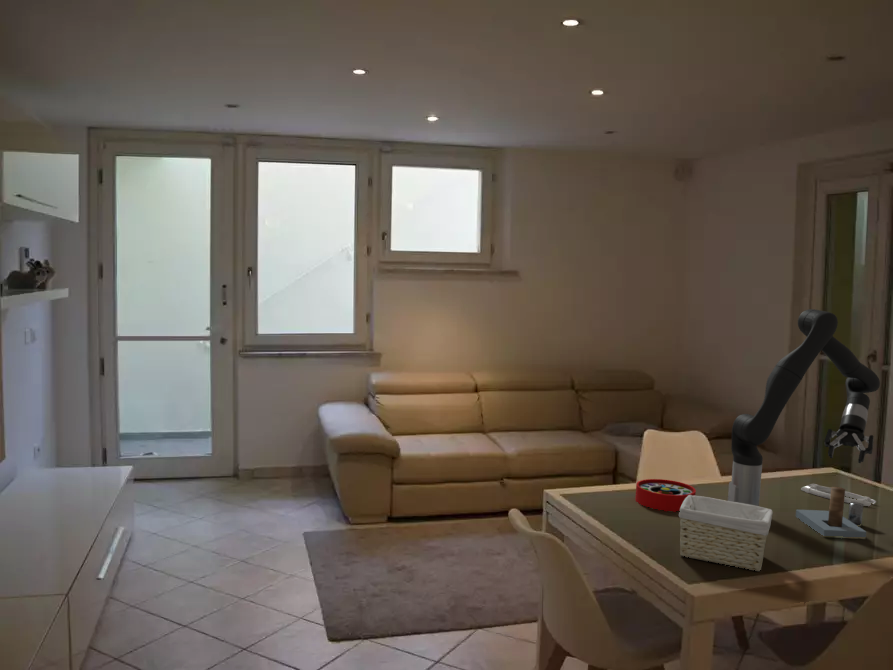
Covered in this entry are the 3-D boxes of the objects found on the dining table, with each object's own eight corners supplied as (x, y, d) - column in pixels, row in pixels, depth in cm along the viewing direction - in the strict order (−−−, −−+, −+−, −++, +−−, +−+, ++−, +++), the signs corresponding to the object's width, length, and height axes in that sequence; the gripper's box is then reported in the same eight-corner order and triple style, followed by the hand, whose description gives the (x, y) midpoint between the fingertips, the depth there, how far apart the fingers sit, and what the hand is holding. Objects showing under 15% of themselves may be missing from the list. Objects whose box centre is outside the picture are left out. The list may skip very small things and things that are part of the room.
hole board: (823, 537, 242) (824, 529, 242) (795, 516, 262) (796, 509, 261) (865, 539, 242) (866, 531, 242) (834, 518, 262) (834, 511, 261)
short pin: (851, 526, 254) (853, 505, 254) (845, 522, 258) (847, 501, 258) (863, 526, 254) (865, 505, 254) (857, 522, 258) (859, 502, 258)
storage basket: (769, 556, 224) (773, 506, 223) (765, 576, 209) (770, 523, 208) (683, 540, 234) (687, 493, 233) (674, 558, 220) (678, 507, 218)
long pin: (831, 533, 246) (834, 490, 245) (825, 528, 250) (828, 486, 249) (843, 533, 246) (847, 490, 245) (837, 529, 250) (841, 486, 249)
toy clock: (641, 493, 262) (631, 477, 282) (640, 510, 262) (630, 493, 282) (702, 497, 260) (688, 480, 280) (701, 514, 261) (686, 496, 281)
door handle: (867, 510, 274) (797, 492, 293) (878, 505, 280) (809, 488, 299) (868, 502, 274) (798, 485, 293) (879, 498, 280) (810, 481, 299)
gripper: (830, 410, 266) (820, 449, 258) (877, 416, 258) (869, 456, 250) (831, 423, 271) (822, 461, 263) (877, 430, 263) (869, 469, 255)
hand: (845, 459), depth 256 cm, fingers open, 8 cm apart
